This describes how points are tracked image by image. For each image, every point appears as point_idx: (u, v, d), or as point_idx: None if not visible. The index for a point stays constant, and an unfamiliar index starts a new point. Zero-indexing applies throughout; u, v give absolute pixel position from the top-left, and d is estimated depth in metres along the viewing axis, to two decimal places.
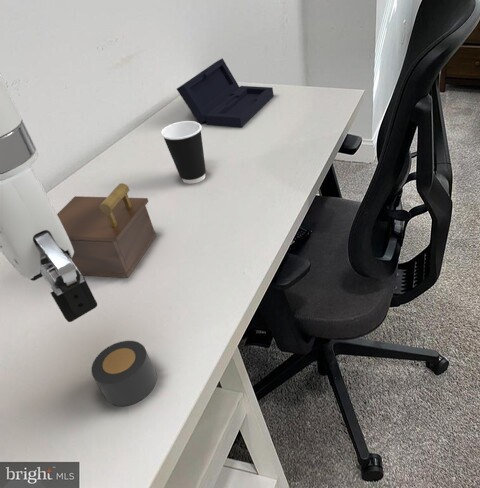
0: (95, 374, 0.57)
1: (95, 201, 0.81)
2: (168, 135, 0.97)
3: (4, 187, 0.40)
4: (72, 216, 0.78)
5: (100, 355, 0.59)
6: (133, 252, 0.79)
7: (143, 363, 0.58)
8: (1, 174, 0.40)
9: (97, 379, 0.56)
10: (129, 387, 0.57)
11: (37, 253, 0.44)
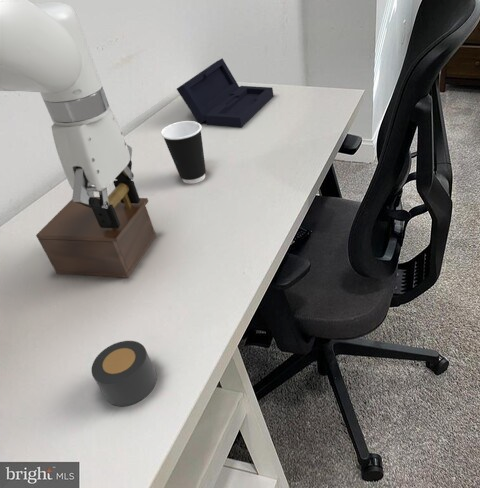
0: (95, 374, 0.57)
1: None
2: (168, 135, 0.97)
3: (60, 131, 0.63)
4: (72, 216, 0.78)
5: (100, 355, 0.59)
6: (133, 252, 0.79)
7: (143, 363, 0.58)
8: (63, 123, 0.63)
9: (97, 379, 0.56)
10: (129, 387, 0.57)
11: (74, 177, 0.67)
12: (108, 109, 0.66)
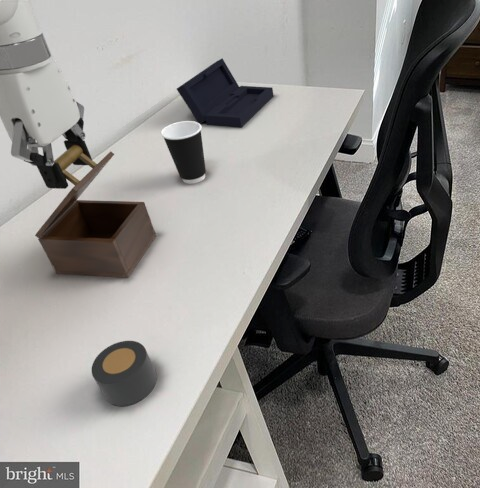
0: (95, 374, 0.57)
1: None
2: (168, 135, 0.97)
3: None
4: None
5: (100, 355, 0.59)
6: (133, 252, 0.79)
7: (143, 363, 0.58)
8: None
9: (97, 379, 0.56)
10: (129, 387, 0.57)
11: (14, 130, 0.63)
12: (49, 58, 0.63)
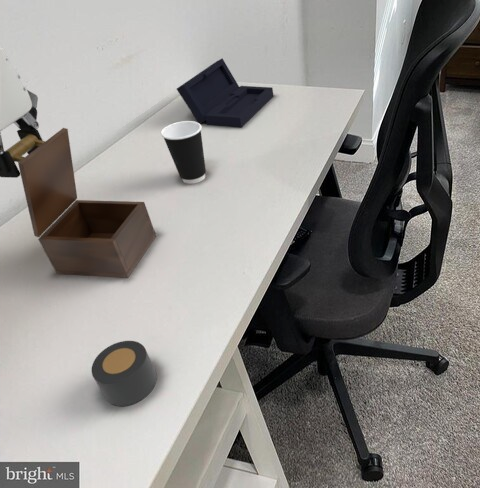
0: (95, 374, 0.57)
1: None
2: (168, 135, 0.97)
3: None
4: None
5: (100, 355, 0.59)
6: (133, 252, 0.79)
7: (143, 363, 0.58)
8: None
9: (97, 379, 0.56)
10: (129, 387, 0.57)
11: None
12: None
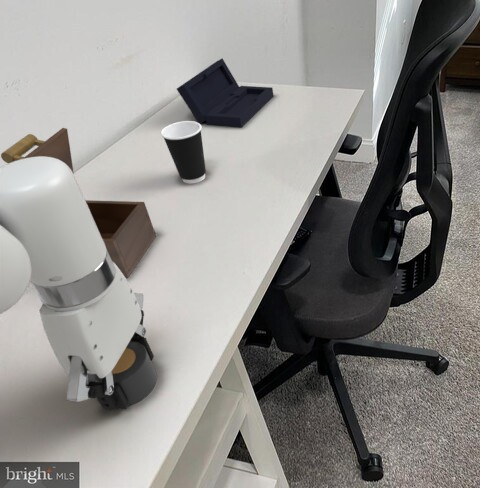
0: None
1: None
2: (168, 135, 0.97)
3: (50, 319, 0.47)
4: None
5: None
6: (133, 252, 0.79)
7: (143, 363, 0.58)
8: (55, 307, 0.47)
9: (97, 379, 0.56)
10: (129, 387, 0.57)
11: (70, 365, 0.51)
12: (115, 278, 0.50)
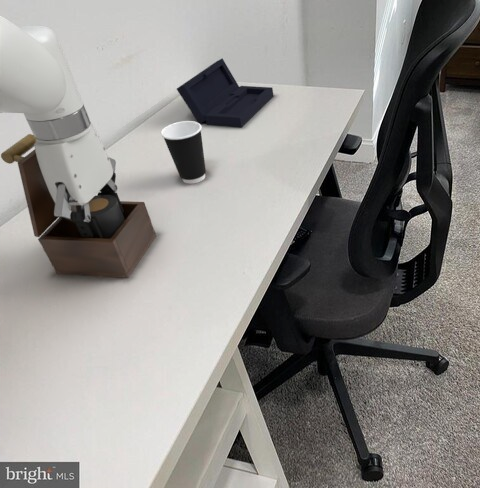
0: None
1: None
2: (168, 135, 0.97)
3: (42, 149, 0.65)
4: None
5: None
6: (133, 252, 0.79)
7: (114, 206, 0.75)
8: (45, 141, 0.65)
9: None
10: (103, 222, 0.75)
11: (57, 192, 0.69)
12: (89, 126, 0.68)
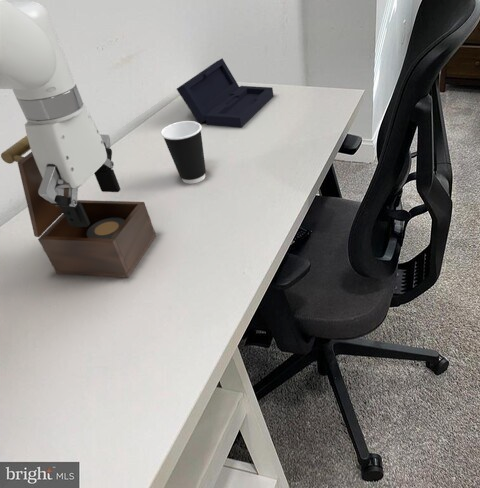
0: (89, 236, 0.78)
1: None
2: (168, 135, 0.97)
3: (33, 129, 0.63)
4: None
5: (93, 225, 0.80)
6: (133, 252, 0.79)
7: None
8: (36, 121, 0.63)
9: None
10: None
11: None
12: (82, 107, 0.66)
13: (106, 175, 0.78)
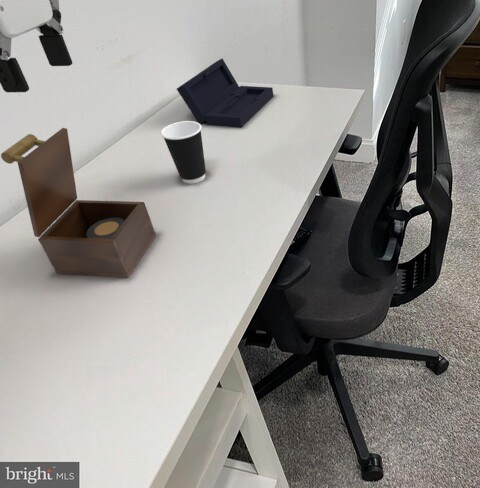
0: (89, 236, 0.78)
1: None
2: (168, 135, 0.97)
3: None
4: None
5: (93, 225, 0.80)
6: (133, 252, 0.79)
7: None
8: None
9: None
10: None
11: None
12: None
13: (54, 41, 0.65)
